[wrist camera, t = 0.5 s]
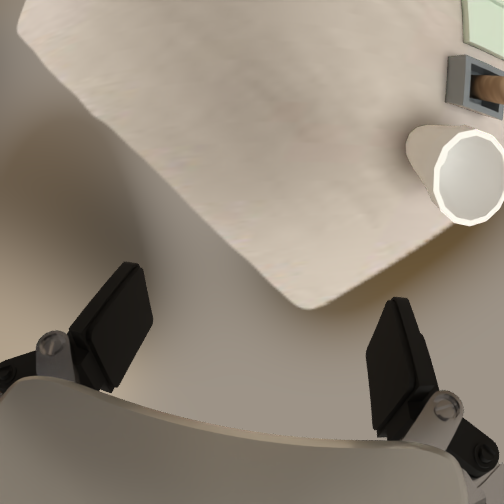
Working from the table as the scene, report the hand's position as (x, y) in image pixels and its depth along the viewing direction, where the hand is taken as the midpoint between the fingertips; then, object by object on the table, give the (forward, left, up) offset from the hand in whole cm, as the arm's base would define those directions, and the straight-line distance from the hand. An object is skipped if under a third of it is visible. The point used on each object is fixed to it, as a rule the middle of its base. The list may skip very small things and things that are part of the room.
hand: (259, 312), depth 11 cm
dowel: (-13, +22, -28) cm, 38 cm away
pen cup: (-13, +22, -29) cm, 39 cm away
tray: (-24, +28, -29) cm, 47 cm away
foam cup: (-3, +17, -29) cm, 34 cm away
